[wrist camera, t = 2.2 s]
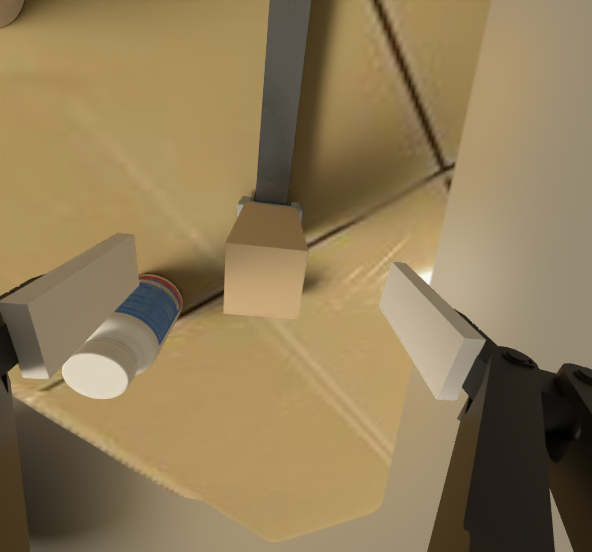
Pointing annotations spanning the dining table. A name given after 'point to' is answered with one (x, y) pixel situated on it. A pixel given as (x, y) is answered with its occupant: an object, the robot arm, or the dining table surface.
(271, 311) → the carriage
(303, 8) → the rail
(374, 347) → the dining table surface
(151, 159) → the dining table surface
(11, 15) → the coffee cup
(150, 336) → the pill bottle
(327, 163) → the dining table surface
